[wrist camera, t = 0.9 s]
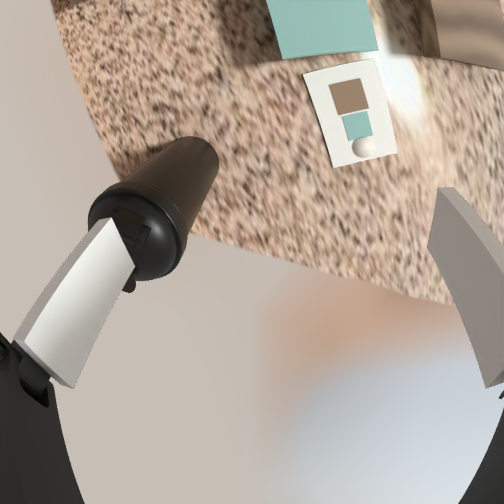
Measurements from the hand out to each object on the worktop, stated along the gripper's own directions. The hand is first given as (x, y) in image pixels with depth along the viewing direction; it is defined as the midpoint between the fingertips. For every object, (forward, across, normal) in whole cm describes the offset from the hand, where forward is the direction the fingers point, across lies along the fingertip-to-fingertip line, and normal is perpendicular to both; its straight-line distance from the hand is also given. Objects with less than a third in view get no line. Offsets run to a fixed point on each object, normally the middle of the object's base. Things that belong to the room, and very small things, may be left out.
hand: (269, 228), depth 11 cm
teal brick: (+30, +6, +12) cm, 33 cm away
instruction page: (+30, +10, -2) cm, 31 cm away
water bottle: (+30, -14, -7) cm, 34 cm away
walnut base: (+30, +27, +14) cm, 43 cm away
